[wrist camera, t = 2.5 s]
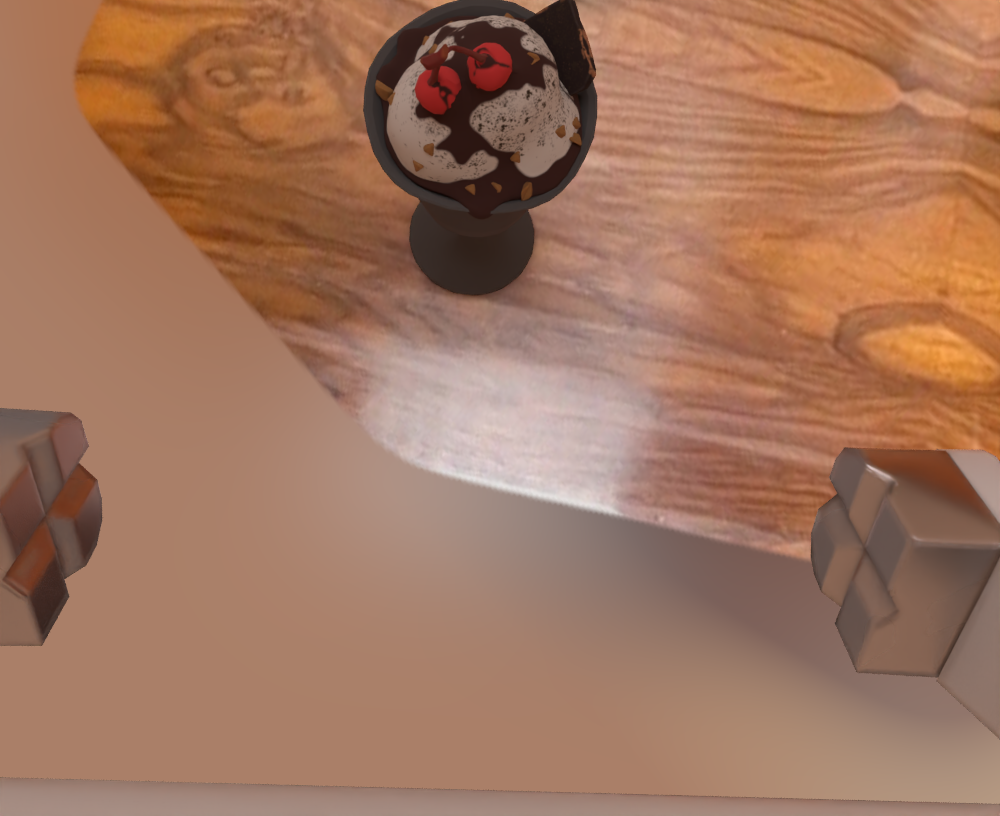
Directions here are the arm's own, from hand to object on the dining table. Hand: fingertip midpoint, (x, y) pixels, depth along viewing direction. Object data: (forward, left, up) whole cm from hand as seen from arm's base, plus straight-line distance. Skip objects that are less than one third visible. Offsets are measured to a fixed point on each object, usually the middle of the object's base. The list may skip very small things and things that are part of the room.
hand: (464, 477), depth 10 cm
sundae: (-9, +8, -24) cm, 26 cm away
